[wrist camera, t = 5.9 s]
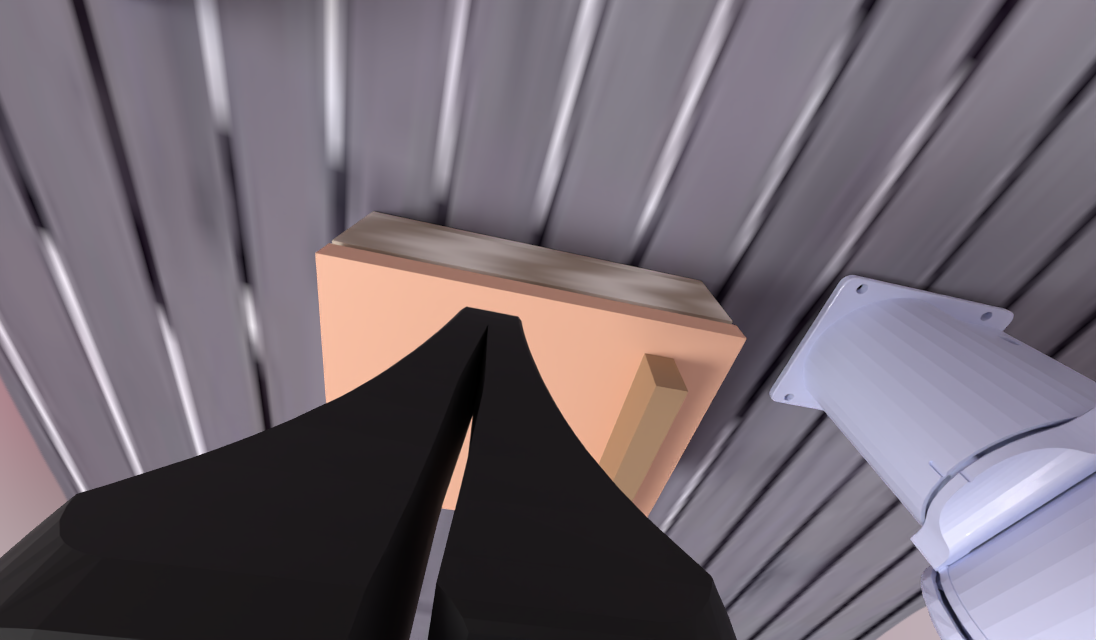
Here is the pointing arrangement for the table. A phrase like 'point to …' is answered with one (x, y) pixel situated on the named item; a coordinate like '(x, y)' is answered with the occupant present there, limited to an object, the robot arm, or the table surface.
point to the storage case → (531, 265)
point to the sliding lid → (538, 355)
